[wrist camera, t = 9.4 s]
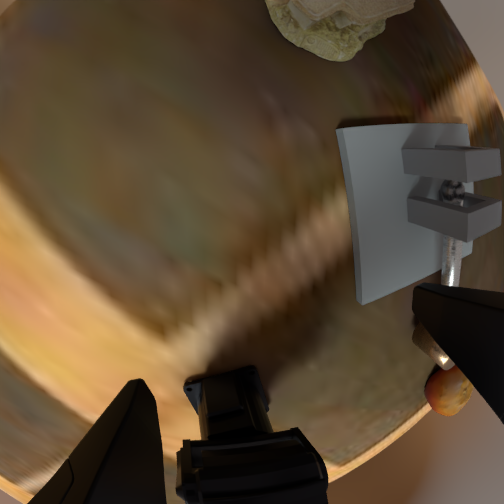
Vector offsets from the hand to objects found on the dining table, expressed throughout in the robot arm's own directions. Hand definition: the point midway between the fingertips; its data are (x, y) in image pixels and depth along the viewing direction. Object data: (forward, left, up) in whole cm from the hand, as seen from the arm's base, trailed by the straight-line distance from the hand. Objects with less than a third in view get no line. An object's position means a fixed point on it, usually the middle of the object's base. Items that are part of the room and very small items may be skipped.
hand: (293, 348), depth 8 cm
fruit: (-28, -24, -12) cm, 39 cm away
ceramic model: (+19, -11, -12) cm, 25 cm away
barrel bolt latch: (-1, -17, -12) cm, 21 cm away
